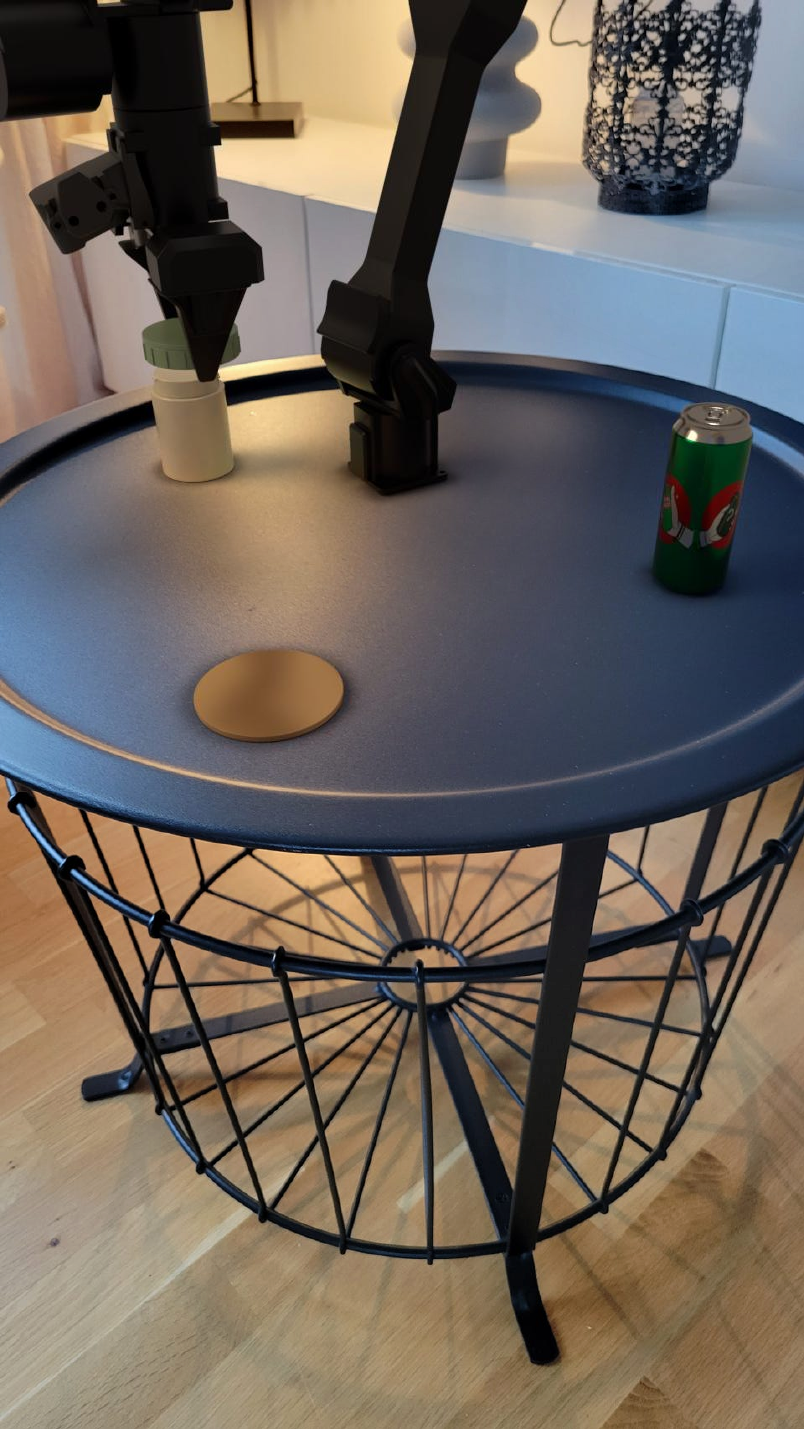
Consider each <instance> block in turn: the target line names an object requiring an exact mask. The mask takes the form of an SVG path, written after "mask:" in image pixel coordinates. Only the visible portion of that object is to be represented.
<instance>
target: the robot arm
mask: <svg viewBox="0 0 804 1429" xmlns="http://www.w3.org/2000/svg"><path fill="white" fill-rule="evenodd" d="M528 1H529V0H408V9H409V14H410V20H411V25H412V31H413V37H414V42H415V52H414V58H413V62H412V64H411V70H410V74H409V78H408V82H407V86H406V90H405V94H404V99H403V103H402V106H401V110H400V115H399V119H398V123H397V127H396V130H395V135H394V139H393V142H392V143H393V144H392V147H391V152H390V156H389V158H388V159H389V160H388V164H387V167H386V171H385V176H384V181H383V184H382V188H381V192H380V196H379V200H378V204H377V208H376V213H375V216H374V220H373V225H372V229H371V233H370V237H369V242H368V245H367V250H366V254H365V258H364V260H363V262H362V264H361V266H360V267H359V268H358V269H357V271H356V272H355V273H354V274H353V276H352V277H351V278H350V279H349V281H348V282H347V283H346V282H344V281H341V280H338V279H335V278H334V279H332V280H331V281H330V283H329V285H328V288H327V290H326V291H327V293H326V302H325V309H324V314H323V316H322V318H321V321H320V323H319V325H318V326H317V328H316V330H315V331H316V334H317V335H320V336H321V339H320V343H321V344H320V357H321V359H322V360H323V362H324V364H325V367H326V369H327V371H328V372H329V373H330V374H331V375H332V376H333V377H334V378H335V379H336V380H337V383H338V386H339V388H340V391H341V394H342V395H344V396H346V397H351V398H353V399H355V400H357V401H355V402H353V404H352V405H353V406H352V407H353V422H350V424H349V425H348V430H349V431H348V434H349V454H350V460H348V462H347V464H346V465H347V466H346V467H347V470H349V471H350V472H351V473H353V474H354V475H355V476H357V477H358V478H359V479H361V480H362V481H363V482H364V483H366V484H367V485H368V486H369V487H370V488H372V489H373V490H374V491H376V492H377V493H378V494H380V495H388V494H391V493H395V492H400V491H403V490H407V489H411V488H415V487H419V486H423V485H427V484H431V483H435V482H439V481H443V480H446V479H448V478H449V471H448V470H447V469H445V468H444V467H443V466H441V465H440V464H439V415H441V413H444V412H448V411H451V409H452V407H453V402H454V399H455V395H456V391H457V388H458V383H457V381H456V380H454V378H453V377H452V376H451V375H450V374H448V372H447V371H446V370H445V369H443V367H442V366H440V365H439V364H438V362H437V361H435V359H434V358H433V357H431V355H432V348H433V340H434V335H435V327H436V326H435V318H434V313H433V307H432V302H431V296H430V291H429V276H430V273H431V269H432V266H433V262H434V258H435V253H436V250H437V246H438V243H439V240H440V235H441V231H442V228H443V223H444V220H445V216H446V213H447V209H448V206H449V201H450V198H451V194H452V190H453V187H454V184H455V179H456V176H457V173H458V172H457V171H458V169H459V165H460V160H461V157H462V152H463V150H464V146H465V142H466V138H467V135H468V131H469V127H470V124H471V119H472V116H473V111H474V108H475V105H476V101H477V96H478V93H479V90H480V87H481V86H480V85H481V82H482V78H483V76H484V73H485V70H486V69H487V67H488V66H489V64H491V62H492V60H493V59H494V58H495V57H496V55H498V53H499V52H500V51H501V49H502V48H503V47H504V46H505V44H506V43H507V42H508V40H509V39H510V38H511V37H512V36H513V34H514V33H515V32H516V31H517V28H518V27H519V23H520V21H521V19H522V16H523V14H524V11H525V9H526V7H527V4H528ZM233 7H234V0H119V1H113V2H103V3H102V2H100V3H99V2H98V0H0V123H6V122H15V121H25V120H34V119H35V120H36V119H45V118H50V117H51V118H53V117H62V116H72V115H80V114H81V115H82V114H91V113H94V112H96V111H97V110H98V109H99V108H100V107H101V104H102V100H103V97H104V96H110V98H111V106H112V112H113V118H114V121H109V128H106V129H105V133H106V141H107V147H108V151H106V152H104V153H102V154H101V155H98V156H96V157H94V158H92V159H89V160H86V161H84V162H81V163H80V164H78V165H75V166H74V167H72V168H69V170H66V171H64V172H63V173H60V174H58V175H57V176H55V177H53V178H50V179H49V180H47V181H45V182H43V183H41V184H39V185H37V186H35V187H34V188H33V189H31V190H30V191H29V192H28V197H29V199H30V200H31V203H32V205H33V206H34V208H35V209H36V212H37V213H38V215H39V217H40V218H41V220H42V222H43V223H44V225H45V227H46V229H47V231H48V232H49V234H50V236H51V238H52V240H53V242H54V243H55V245H56V246H57V248H58V250H59V251H60V253H61V254H62V255H64V256H65V255H66V256H67V255H70V254H73V253H76V252H78V251H80V250H83V249H84V248H85V247H86V244H87V243H88V242H89V241H92V240H93V239H95V238H97V237H99V236H101V235H103V234H105V233H108V232H109V231H110V232H111V233H112V234H113V235H114V237H120V236H121V237H122V236H125V235H124V234H125V228H127V229H128V236H129V239H123V240H119V241H118V242H117V244H118V246H119V247H120V249H121V250H122V251H123V252H124V254H126V256H128V257H129V258H130V259H131V260H132V261H133V262H135V263H136V264H138V265H139V267H141V268H142V269H144V270H145V271H146V273H147V275H148V278H147V282H148V283H149V284H150V286H151V287H152V289H153V291H154V294H155V297H156V299H157V302H158V305H159V307H160V310H161V313H162V316H163V320H167V319H172V318H178V317H179V320H180V323H181V327H182V330H183V333H184V337H185V340H186V343H187V347H188V350H189V353H190V357H191V360H192V363H193V366H194V369H195V372H196V375H197V378H198V380H199V381H200V382H202V383H203V382H210V381H214V380H215V379H216V376H217V373H219V370H220V367H221V365H220V364H221V361H222V358H223V354H224V351H225V348H226V345H227V342H228V339H229V336H230V333H231V331H232V327H233V325H234V323H235V321H236V318H237V316H238V313H239V311H240V308H241V305H242V303H243V300H244V298H245V296H246V293H247V290H248V289H249V288H251V287H252V285H256V284H257V285H258V284H260V283H262V282H264V281H265V280H266V279H265V278H266V277H265V267H264V256H263V255H264V254H263V246H262V245H261V244H259V243H258V242H257V241H256V240H255V239H254V238H253V237H252V236H251V235H249V234H248V233H247V232H246V231H245V230H244V229H243V228H241V227H240V226H238V225H237V224H236V223H235V222H233V221H232V220H231V219H230V214H229V203H228V201H227V200H226V199H225V198H223V197H222V196H220V192H219V191H220V190H219V181H218V174H217V172H218V171H217V163H216V162H217V161H216V154H215V147H219V146H223V144H222V135H221V126H220V125H218V124H216V123H214V122H213V121H212V116H211V115H212V114H211V107H210V98H209V88H208V78H207V68H206V60H205V50H204V40H203V32H202V22H201V13H209V12H210V13H211V12H224V11H231V10H232V9H233Z"/></svg>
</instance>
